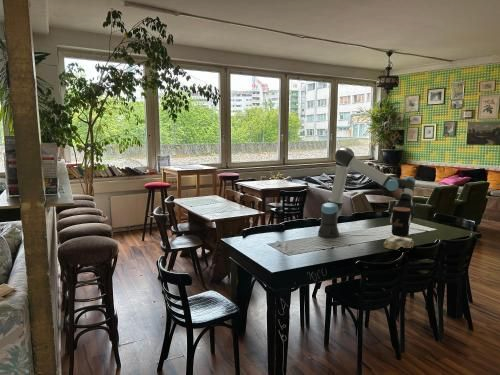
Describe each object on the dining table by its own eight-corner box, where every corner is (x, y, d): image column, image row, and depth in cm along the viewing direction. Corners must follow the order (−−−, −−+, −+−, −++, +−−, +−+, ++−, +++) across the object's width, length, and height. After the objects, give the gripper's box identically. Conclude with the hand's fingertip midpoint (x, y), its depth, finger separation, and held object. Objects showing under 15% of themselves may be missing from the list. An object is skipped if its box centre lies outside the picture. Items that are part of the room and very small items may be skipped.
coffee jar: (387, 233, 248) (389, 207, 245) (400, 232, 252) (402, 206, 249) (399, 237, 238) (401, 210, 235) (412, 236, 242) (414, 209, 239)
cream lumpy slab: (383, 247, 244) (383, 240, 243) (389, 241, 257) (389, 234, 256) (409, 251, 235) (409, 244, 234) (413, 245, 248) (414, 238, 248)
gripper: (424, 201, 248) (419, 228, 237) (389, 198, 261) (382, 223, 250) (424, 194, 243) (418, 222, 232) (387, 191, 256) (380, 217, 245)
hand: (399, 223), depth 241 cm, fingers closed on coffee jar, 11 cm apart
